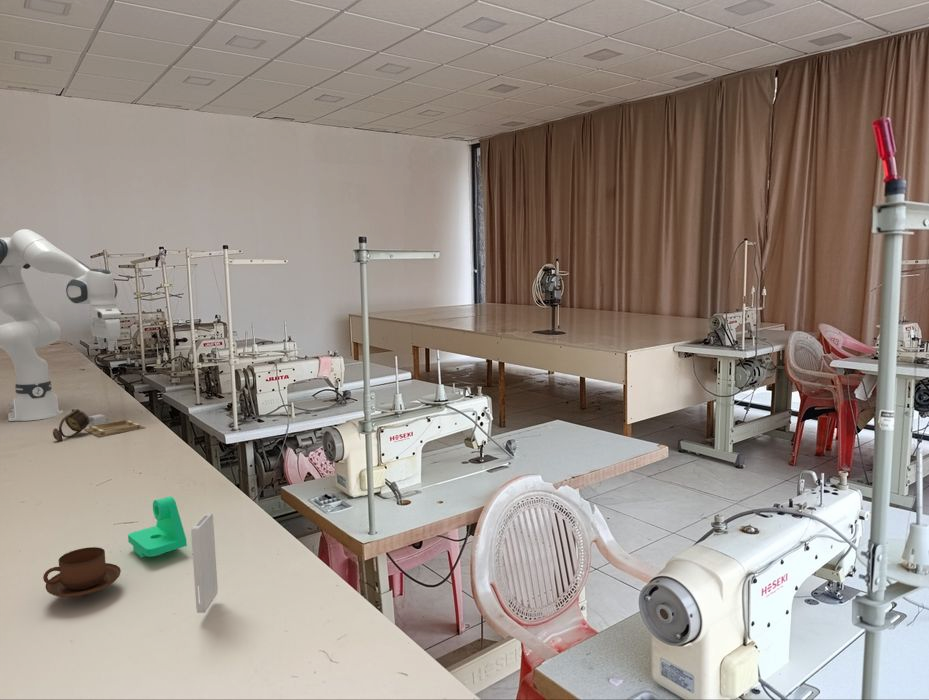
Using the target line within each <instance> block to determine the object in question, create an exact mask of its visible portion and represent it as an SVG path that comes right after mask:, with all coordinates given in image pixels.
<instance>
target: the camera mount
mask: <svg viewBox="0 0 929 700" xmlns="http://www.w3.org/2000/svg"><path fill="white" fill-rule="evenodd" d="M152 512H153V515H154V518H155V519H156V524H155V526H149V527H147V528H143V529H140V530H136V531H133V532H130V533H128V534H127V536H128V537H127V539H128V543H129V544H130V545H132V548H133V552H135V553H136V554H137V555H138V556H140V557H141V558H144V557H146V558H147V557H150V558H151V557H155V556H159V555H162V554H165V553H167V552H171V551H174V550H177V549H181V548H184V547H187V544H188V543H187V537H186V533H185V530H184V526H183V523H182V520H181V517H180V513H179V510H178V506H177V503H176V500H175V498H174V497H173V496H172V495H171V496H167V497H163V498H158V499H154V500H153V502H152Z"/></svg>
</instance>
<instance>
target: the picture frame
mask: <svg viewBox="0 0 929 700" xmlns="http://www.w3.org/2000/svg"><path fill="white" fill-rule="evenodd" d="M143 429H146V427H145V426H143V425H141V424H139V423H137V422H134V421H131V420H129V419H124V420H123V419H122V420H118V421H117V420H115V421H110V422H106V423H103V424H97V425H89V428H85V429H83V431H85V432H87V433H88V434H90V435H93V436H94V437H96V438H98V439H100V438H104V437H109V436H110V437H111V436H114V435H119V434H120V435H121V434H123V433H129V432H135V431H138V430H143Z"/></svg>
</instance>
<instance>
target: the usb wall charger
mask: <svg viewBox="0 0 929 700" xmlns="http://www.w3.org/2000/svg"><path fill="white" fill-rule="evenodd" d="M88 417H89V420H90V423H89V424H88V425H89V426H91V425H97V424H103V423H107V421H109V420H111V419H112V417H106V415H105V414H101V413H99V414H95V415H90V416H89V415H88Z"/></svg>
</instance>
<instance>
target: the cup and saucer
mask: <svg viewBox="0 0 929 700" xmlns="http://www.w3.org/2000/svg"><path fill="white" fill-rule="evenodd" d="M52 572H59V573H57V574H56V575H54V576H52V577H51V578H48V577H49V575H50V574H51V573H52ZM121 572H122V569H121V567H120V566H118V564H114V563H108V562H106V552H105V549H104V548H101V547H97V546H93V547H83V548H78V549H74V550H72V551H68V552H66V553H64V554H63V555H62V556H60V557H58V566H53V567H51V568H49V569H48V570H46V571H45V572H44V573H43V576H42V577H43V581H44V582H45V586H44V587H45V589H46V592H47V593H48V594H50V595H52V596H55V597H58V598H76V597H78V598H79V597H82V596H87V595H91V594H93V593H98V592H99V591H101V590H103V589H106V588H107V587H109V586H111V585H112V584H113V583H115V581H117V580H118V578H119V577H120V576H121Z"/></svg>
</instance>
